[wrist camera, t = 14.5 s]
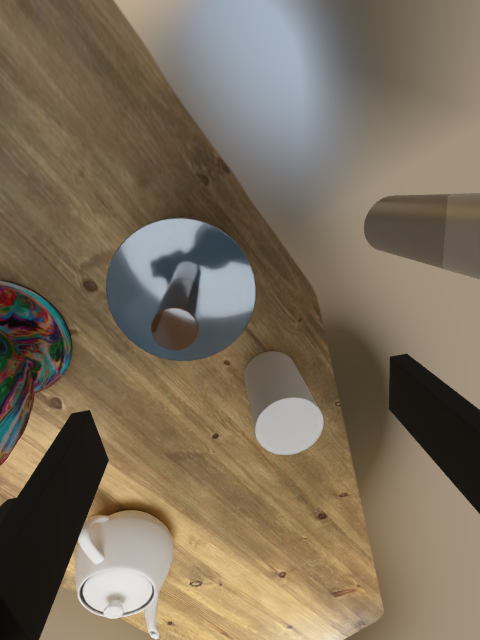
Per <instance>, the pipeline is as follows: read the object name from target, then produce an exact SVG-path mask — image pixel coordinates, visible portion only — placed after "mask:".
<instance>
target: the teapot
mask: <svg viewBox="0 0 480 640" xmlns="http://www.w3.org/2000/svg"><path fill="white" fill-rule="evenodd" d="M78 542H79V545H78V549H77V553H76V559H75V576H76V588H77V595H78V598H79V601H80V603H81V604H82V605H83V606H84V607H85V608H86V609H87V610H88V611H90V612H92V613H94V614H97V615H100V616H104V617H107V618H111V619H115V618H119V617H125V616H130V615H133V614H136V613H138V612H141V611H142V610H144V613H145V619H146V624H147V628H148V632H149V634H150V636H151V637H152V638H154V639H158V638H159V632H158V627H157V608H158V601H159V591H160V589H161V587H162V585H163V583H164V581H165V579H166V577H167V575H168V572H169V569H170V567H171V564H172V560H173V555H174V543H173V538H172V536H171V534H170V532H169V530H168V529H167V527H166V526H165V525H164V524H163V523H162V522H161V521H159V520H158V519H157V518H155V517H154V516H152V515H150V514H148V513H146V512H142V511H137V510H126V511H120V512H117V513H114V514H111V515H108V516H105V515H96V516H92V517H90V518H88V519H86V520H85V523H84V525H83V528H82V530H81V533H80V535H79V538H78Z"/></svg>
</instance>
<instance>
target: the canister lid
mask: <svg viewBox="0 0 480 640" xmlns="http://www.w3.org/2000/svg"><path fill="white" fill-rule="evenodd" d="M106 292H107V300H108V304H109V308H110V311H111V313H112V316H113V318H114V320H115V321H116V323H117V325H118V326H119V328H120V329H121V331H122V332H123V333H124V334H125V335H126V336H127V337H128V339H129V340H131V341H132V342H133V343H134V344H135V345H137V346H138V347H140V348H141V349H143V350H144V351H146V352H148V353H150V354H152V355H155V356H158V357H161V358H165V359H169V360H176V361H191V360H198V359H202V358H206V357H209V356H212V355H214V354H216V353H218V352H220V351H222V350H224V349H225V348H227V347H228V346H230V345H231V344H232V343H233V342H234V341H235V340H236V339H237V338H238V337H239V336H240V335H241V334H242V332H243V331H244V329H245V328H246V326H247V325H248V323H249V321H250V319H251V316H252V313H253V310H254V306H255V301H256V282H255V277H254V273H253V270H252V267H251V264H250V262H249V260H248V258H247V256H246V255H245V253H244V252H243V250H242V249H241V247H240V246H239V245H238V244H237V243H236V242H235V241H234V240H233V239H232V238H231V237H230V236H229V235H228V234H226V233H225V232H224V231H222V230H221V229H219V228H217V227H215V226H213V225H211V224H209V223H207V222H204V221H200V220H197V219H191V218H180V217H176V218H166V219H162V220H158V221H155V222H152V223H149V224H147V225H145V226H143V227H141V228H140V229H138V230H136V231H135V232H134V233H132V234H131V235H130V236H129V237H128V238H127V239H126V240H125V241H124V242H123V243H122V244H121V245H120V247H119V248H118V250H117V251H116V253H115V255H114V257H113V258H112V261H111V263H110V266H109V269H108V274H107V281H106Z"/></svg>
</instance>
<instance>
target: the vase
mask: <svg viewBox="0 0 480 640" xmlns="http://www.w3.org/2000/svg"><path fill="white" fill-rule="evenodd" d="M70 358H71V339H70V335H69V332H68V329H67V327H66V325H65V323H64V321H63V319H62V318H61V316H60V315H59V314H58V312H57V311H56V310H55V309H54V308H53V307H52V306H51V305H50V304H49V303H48V302H47V301H46V300H45V299H43V298H42V297H41V296H39V295H38V294H36V293H34V292H33V291H31V290H29V289H27V288H25V287H22V286H20V285H17V284H14V283H10V282H5V281H0V466H1V465H2V464H3V463H4V461H5V460H6V459H7V458H8V456H9V455H10V453H11V452H12V450H13V448H14V447H15V445H16V444H17V442H18V440H19V439H20V437H21V436H22V434H23V432H24V430H25V428H26V426H27V423H28V420H29V416H30V413H31V410H32V407H33V402H34V393H37V392H39V391H42V390H44V389H46V388H48V387H50V386H51V385H53V384H54V383H55V382H57V381H58V380H59V379H60V378H61V376H62V375H63V374H64V372H65V371H66V369H67V367H68V365H69V362H70Z"/></svg>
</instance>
